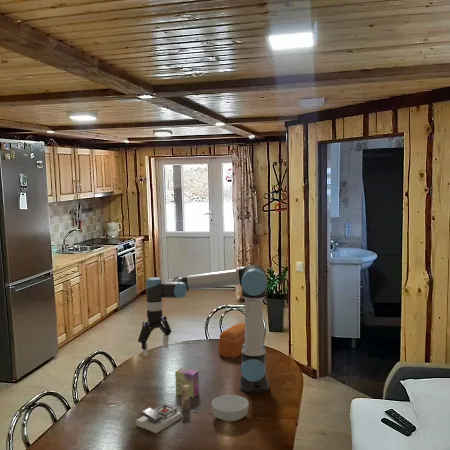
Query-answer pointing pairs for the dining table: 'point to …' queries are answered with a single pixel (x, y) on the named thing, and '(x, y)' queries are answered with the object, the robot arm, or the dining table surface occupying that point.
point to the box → (187, 381)
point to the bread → (232, 341)
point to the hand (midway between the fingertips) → (155, 351)
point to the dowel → (185, 397)
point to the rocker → (152, 415)
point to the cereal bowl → (230, 407)
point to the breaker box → (165, 420)
